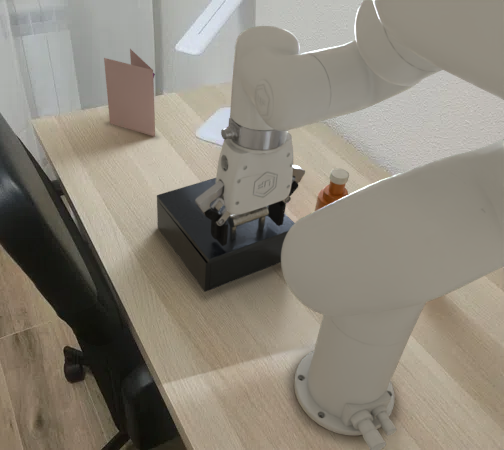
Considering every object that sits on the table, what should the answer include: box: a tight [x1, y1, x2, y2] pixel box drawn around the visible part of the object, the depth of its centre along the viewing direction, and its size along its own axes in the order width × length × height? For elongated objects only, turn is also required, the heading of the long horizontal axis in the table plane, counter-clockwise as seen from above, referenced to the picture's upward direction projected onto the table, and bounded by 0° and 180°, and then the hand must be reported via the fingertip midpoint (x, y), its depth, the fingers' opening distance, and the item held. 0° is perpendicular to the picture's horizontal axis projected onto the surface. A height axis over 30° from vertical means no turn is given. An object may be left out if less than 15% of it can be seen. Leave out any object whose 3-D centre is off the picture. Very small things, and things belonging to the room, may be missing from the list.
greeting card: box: [103, 48, 156, 137], centre depth 115 cm, size 11×7×15 cm, turn 29°
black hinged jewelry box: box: [156, 199, 286, 293], centre depth 89 cm, size 17×16×7 cm
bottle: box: [314, 167, 350, 212], centre depth 89 cm, size 5×5×14 cm
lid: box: [156, 177, 296, 263], centre depth 85 cm, size 17×16×5 cm
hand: (247, 229), depth 81 cm, fingers open, 9 cm apart
